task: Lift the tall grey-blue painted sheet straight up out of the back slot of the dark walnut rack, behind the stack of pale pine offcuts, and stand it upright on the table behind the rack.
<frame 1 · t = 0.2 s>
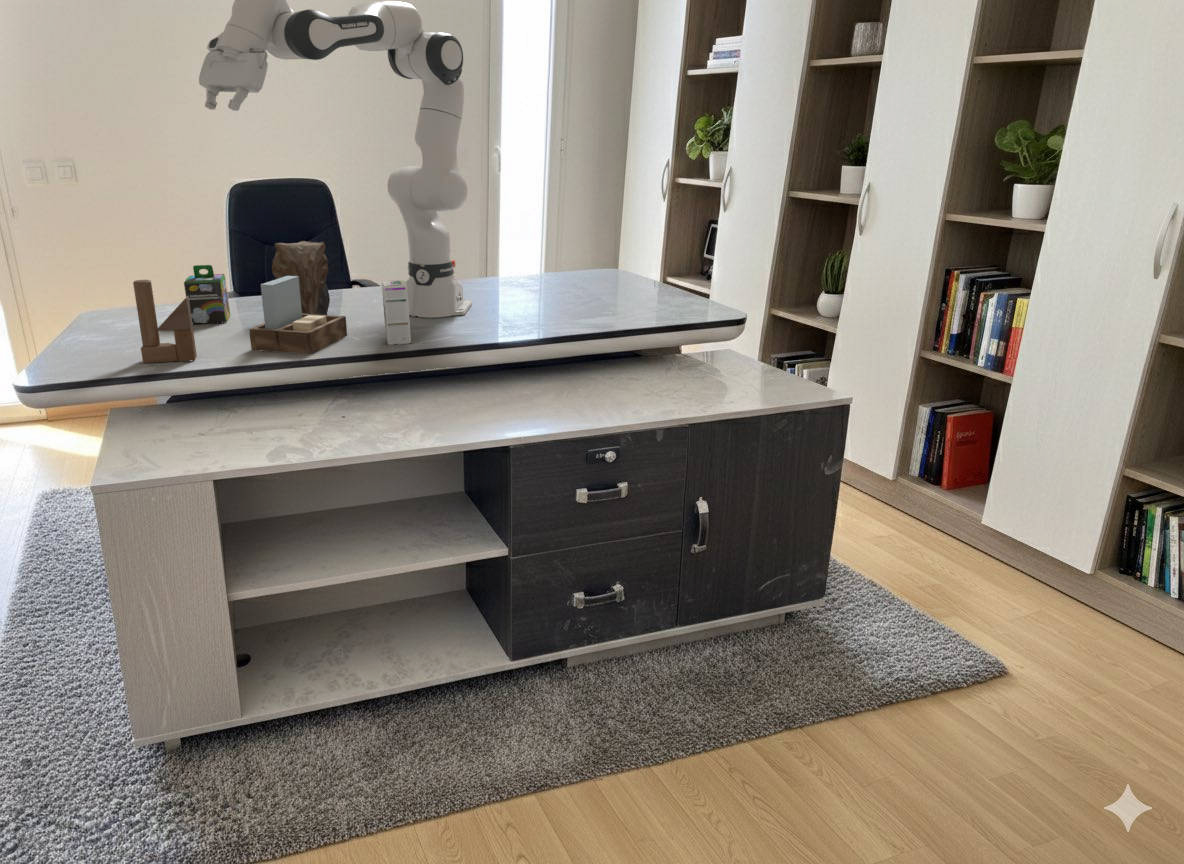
hand: (221, 108, 200), 53 cm above the table, tool tilted 25°, fingers open, 8 cm apart
middle pine offcut: (311, 335, 223), point 2 cm above the table, touching long pine offcut
short pine offcut: (310, 327, 223), point 4 cm above the table
chalk box: (210, 321, 246), on the table
tall sheet: (286, 341, 225), on the table
walnut rack: (308, 343, 224), on the table
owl: (305, 319, 249), on the table
syrup box: (398, 342, 227), on the table
long pine offcut: (313, 345, 224), on the table, touching middle pine offcut
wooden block: (170, 361, 208), on the table
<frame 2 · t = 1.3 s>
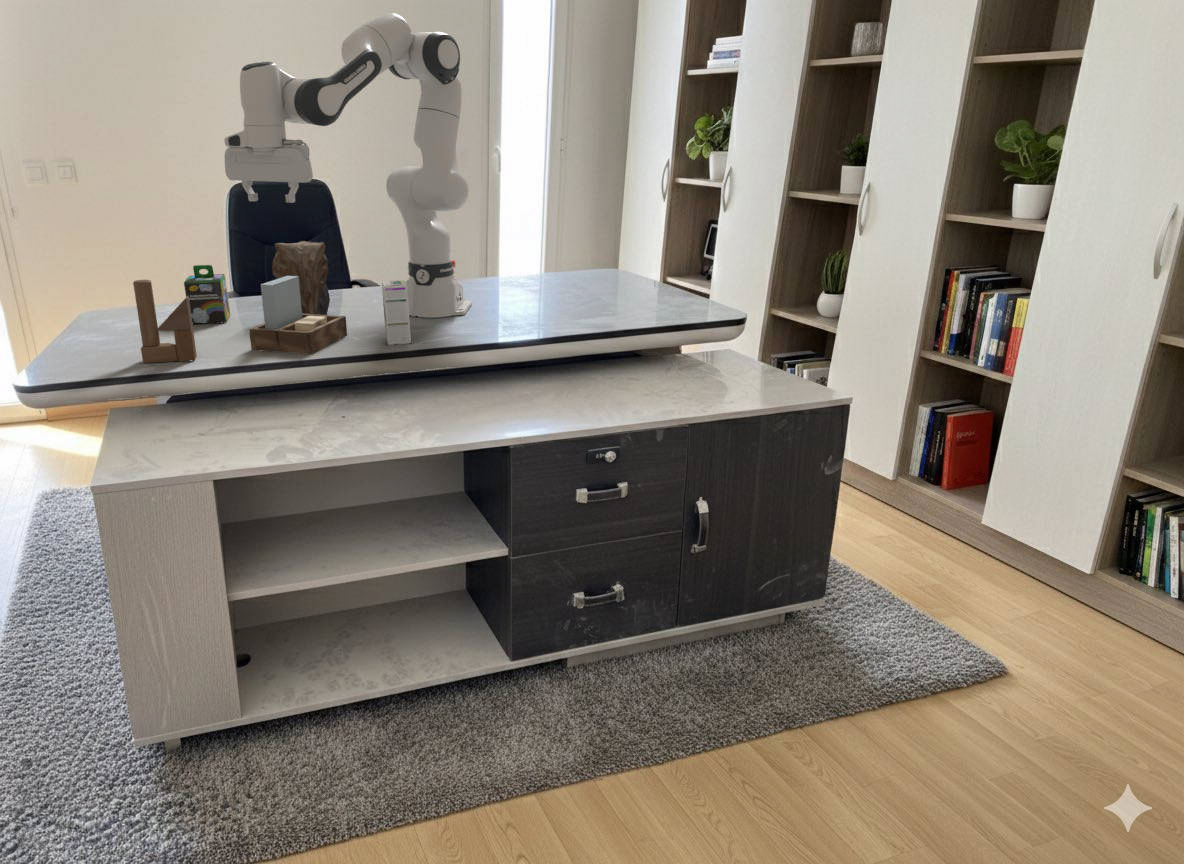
hand: (272, 201, 214), 33 cm above the table, tool pointing down, fingers open, 8 cm apart
middle pine offcut: (312, 336, 223), point 2 cm above the table, touching long pine offcut, short pine offcut
short pine offcut: (311, 327, 222), point 4 cm above the table, touching middle pine offcut
everything else where it was.
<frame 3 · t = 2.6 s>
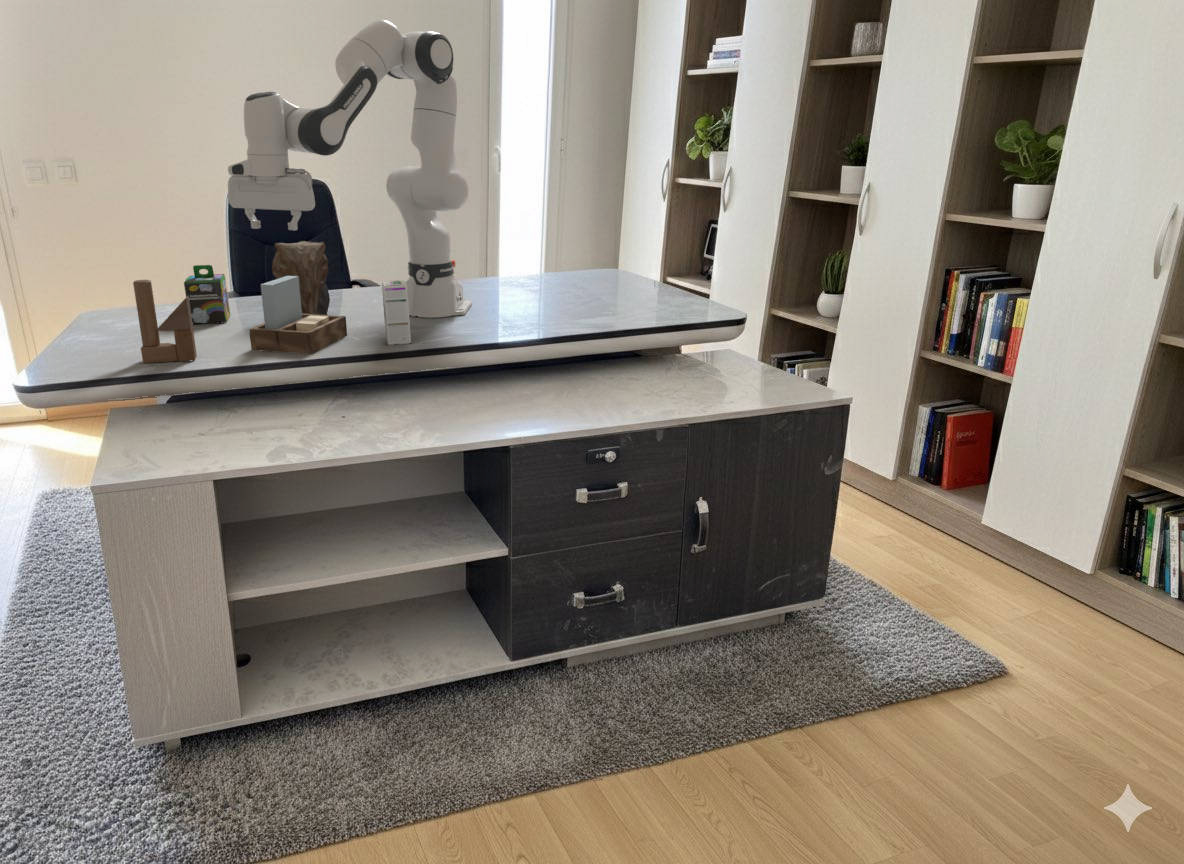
hand: (274, 229, 216), 27 cm above the table, tool pointing down, fingers open, 8 cm apart
nothing on the table moved.
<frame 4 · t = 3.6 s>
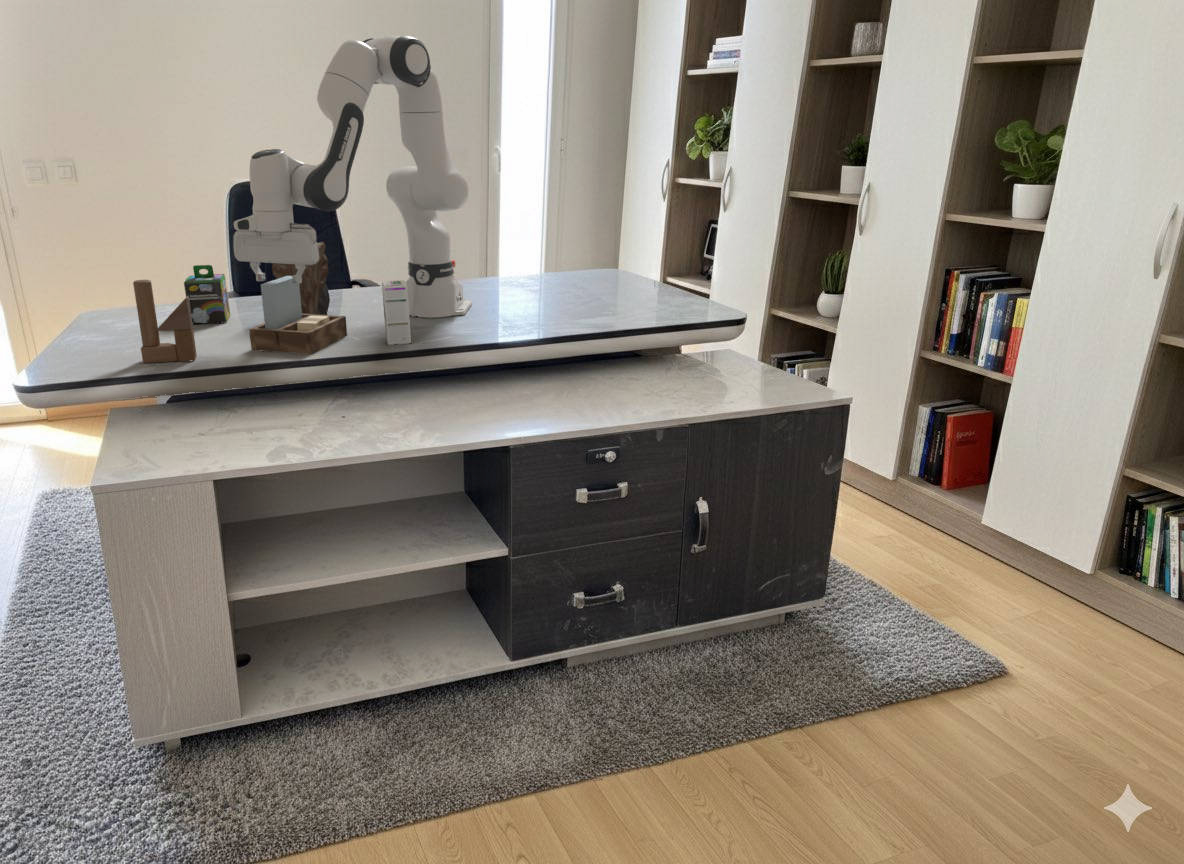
hand: (279, 281, 220), 15 cm above the table, tool pointing down, fingers open, 8 cm apart
middle pine offcut: (313, 336, 223), point 2 cm above the table, touching long pine offcut
short pine offcut: (314, 327, 222), point 4 cm above the table
everything else where it was.
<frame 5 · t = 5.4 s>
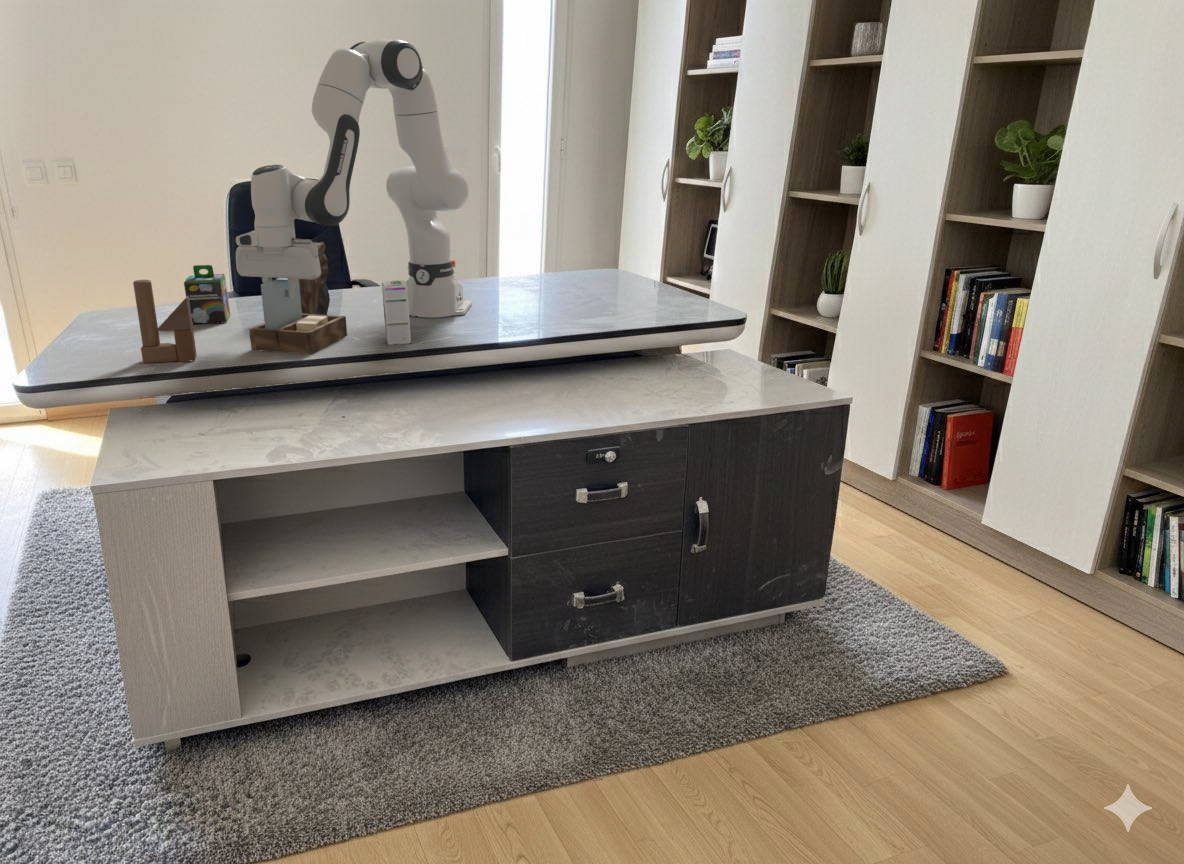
hand: (281, 296, 221), 11 cm above the table, tool pointing down, fingers closed on tall sheet, 3 cm apart
middle pine offcut: (312, 336, 223), point 2 cm above the table, touching long pine offcut, short pine offcut
short pine offcut: (312, 327, 222), point 4 cm above the table, touching middle pine offcut
tall sheet: (286, 341, 225), on the table, touching gripper
everything else where it was.
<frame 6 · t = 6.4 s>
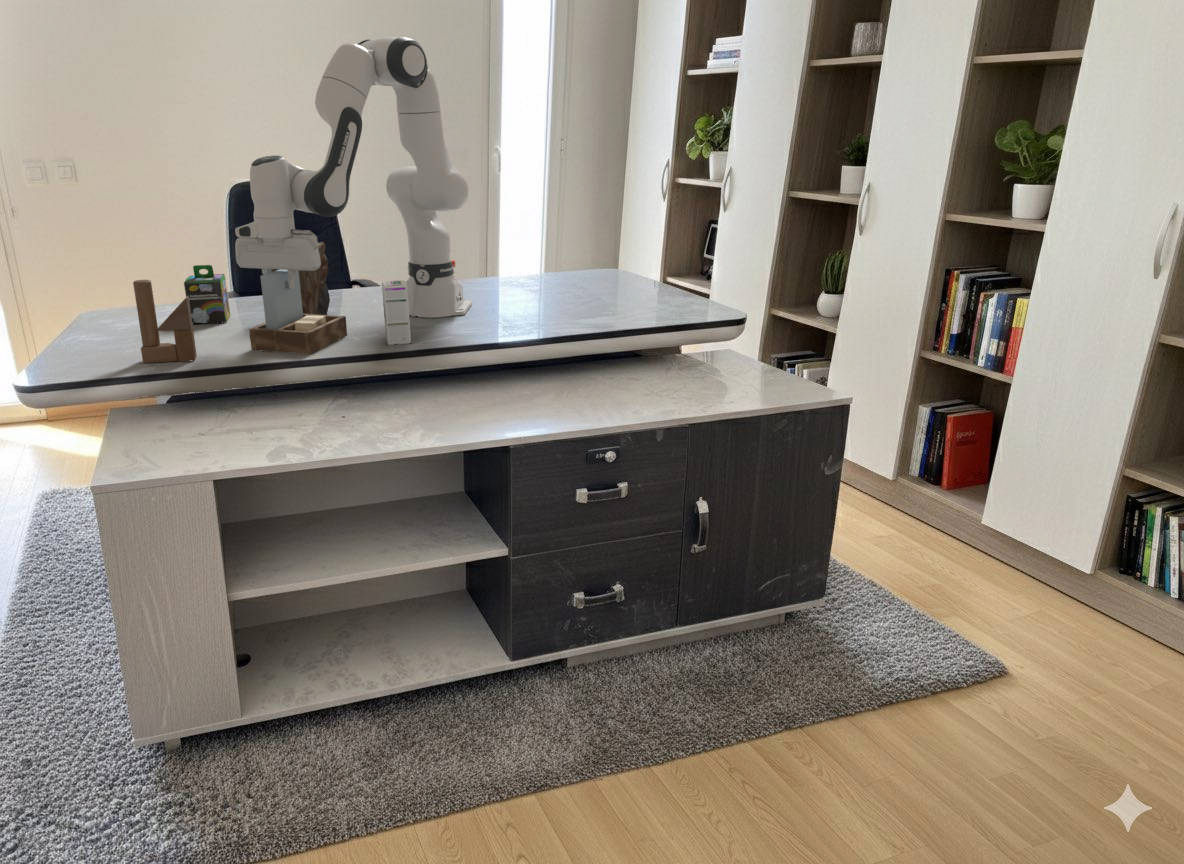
hand: (281, 287, 221), 13 cm above the table, tool pointing down, fingers closed on tall sheet, 3 cm apart
middle pine offcut: (311, 335, 223), point 2 cm above the table, touching long pine offcut
short pine offcut: (311, 327, 222), point 4 cm above the table
tall sheet: (286, 333, 225), point 2 cm above the table, touching gripper
everything else where it was.
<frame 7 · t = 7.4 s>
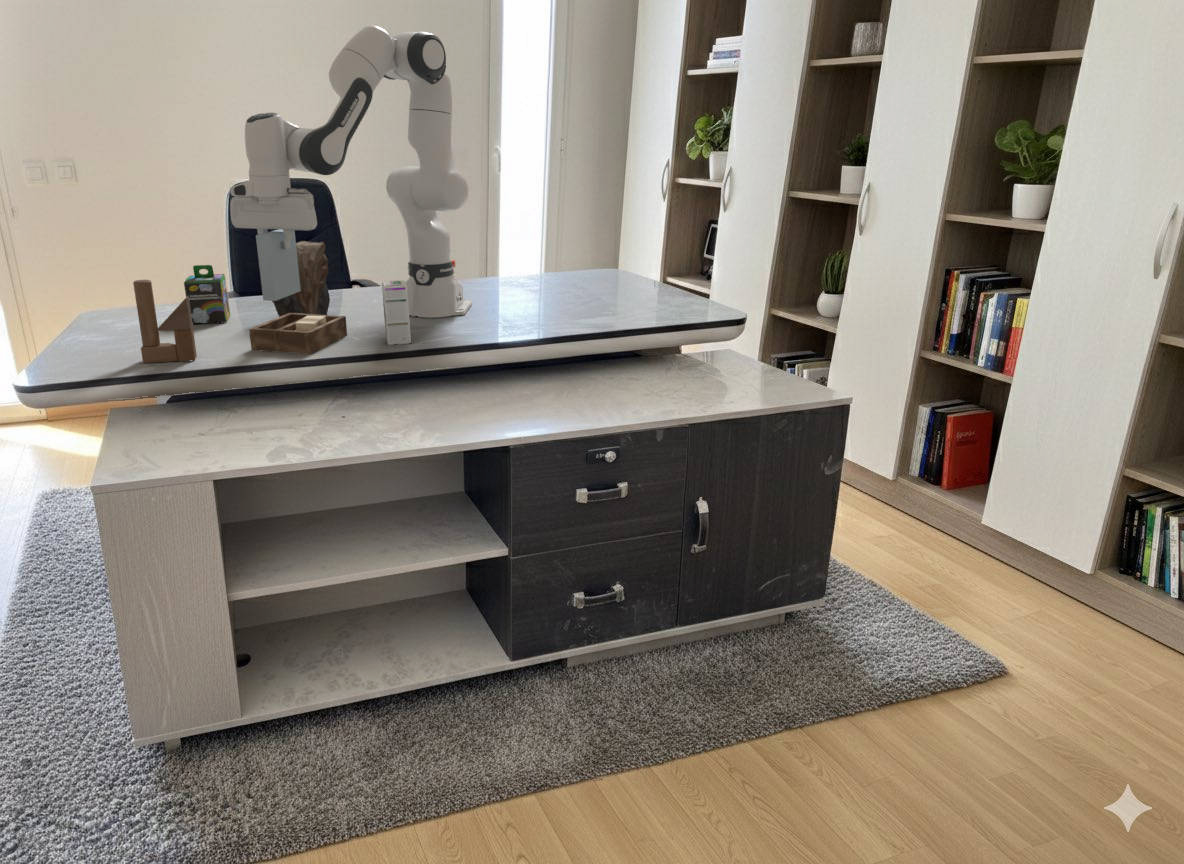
hand: (277, 248, 218), 22 cm above the table, tool pointing down, fingers closed on tall sheet, 3 cm apart
middle pine offcut: (311, 335, 223), point 2 cm above the table, touching long pine offcut, short pine offcut
short pine offcut: (311, 327, 222), point 4 cm above the table, touching middle pine offcut
tall sheet: (282, 295, 222), point 11 cm above the table, touching gripper
everything else where it was.
when the fingers open (12 cm above the table, at t = 14.7 s): tall sheet stays where it is, on the table.
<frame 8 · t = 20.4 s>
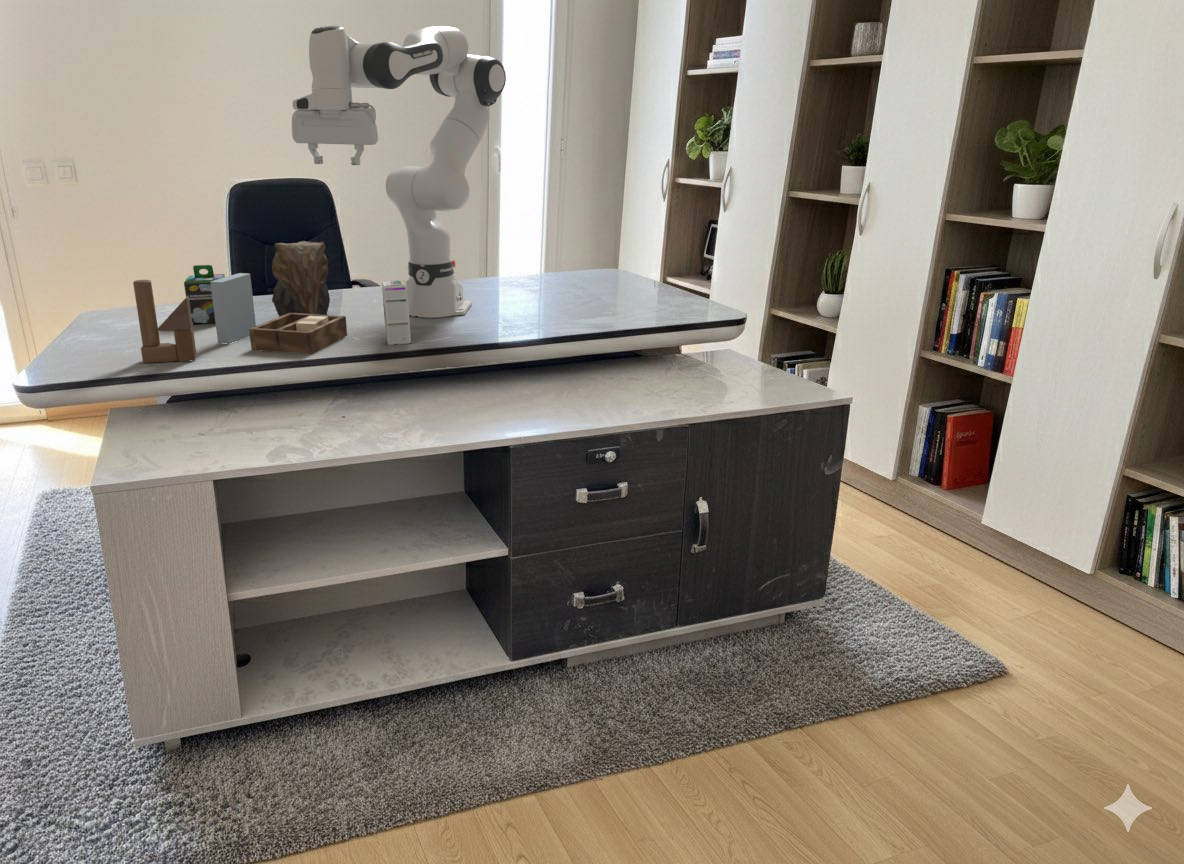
hand: (337, 164, 218), 41 cm above the table, tool pointing down, fingers open, 8 cm apart
middle pine offcut: (315, 336, 223), point 2 cm above the table, touching long pine offcut, short pine offcut
tall sheet: (237, 338, 228), on the table
at the end: tall sheet inside the target area (0.1 cm from its centre), on the table; tall sheet tilted 0°; the gripper is holding nothing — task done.
